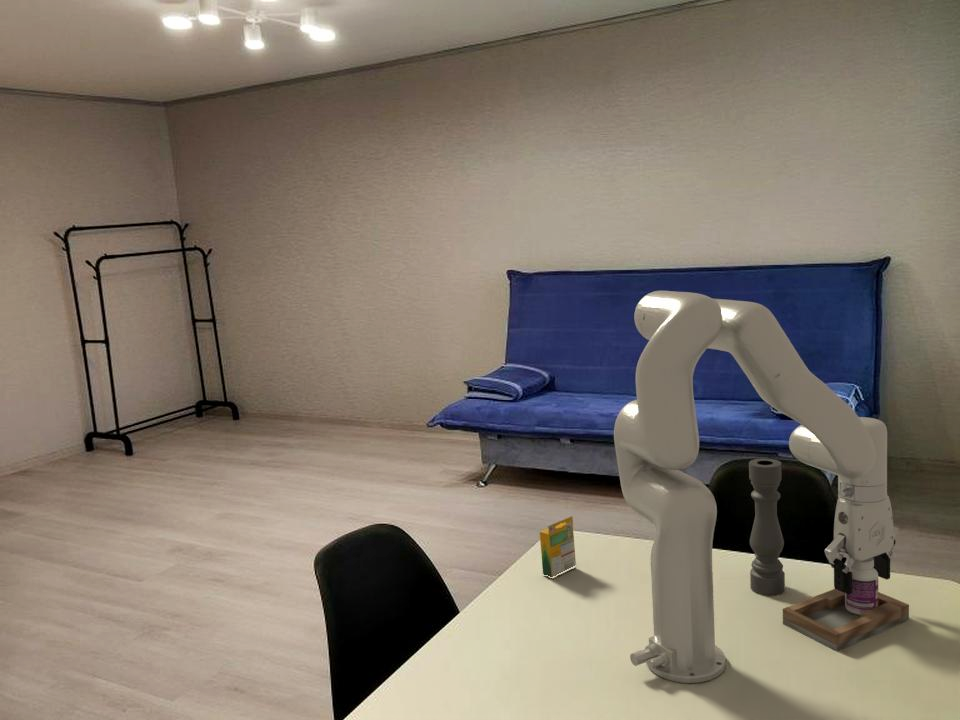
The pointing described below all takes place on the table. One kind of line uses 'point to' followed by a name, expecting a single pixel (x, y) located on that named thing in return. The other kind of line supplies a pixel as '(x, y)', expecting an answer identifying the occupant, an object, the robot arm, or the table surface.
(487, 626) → the table surface
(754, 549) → the candle holder
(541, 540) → the crayon box
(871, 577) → the pill bottle
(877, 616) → the brown wooden tray
